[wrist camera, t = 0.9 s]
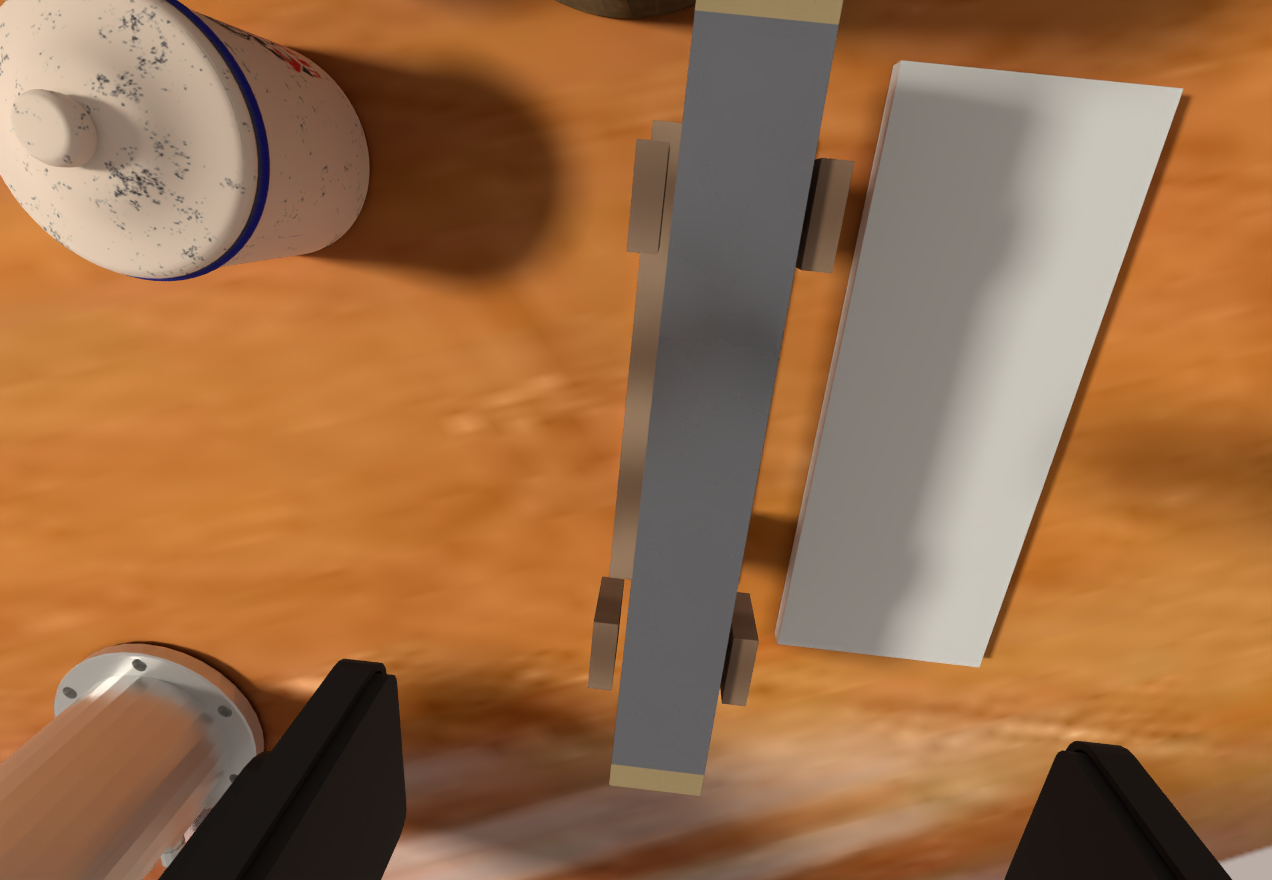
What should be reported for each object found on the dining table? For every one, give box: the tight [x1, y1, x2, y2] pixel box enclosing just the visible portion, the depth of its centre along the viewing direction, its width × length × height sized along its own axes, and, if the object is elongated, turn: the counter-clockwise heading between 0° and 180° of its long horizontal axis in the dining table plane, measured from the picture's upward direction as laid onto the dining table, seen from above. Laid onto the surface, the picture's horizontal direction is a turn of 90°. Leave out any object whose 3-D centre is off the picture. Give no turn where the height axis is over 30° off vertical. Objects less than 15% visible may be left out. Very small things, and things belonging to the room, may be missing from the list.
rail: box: [609, 0, 843, 796], centre depth 22 cm, size 27×4×4 cm, turn 174°
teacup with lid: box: [0, 0, 370, 281], centre depth 23 cm, size 12×9×12 cm
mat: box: [775, 60, 1183, 667], centre depth 31 cm, size 28×11×1 cm, turn 174°
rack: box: [588, 120, 855, 706], centre depth 26 cm, size 22×6×11 cm, turn 174°
